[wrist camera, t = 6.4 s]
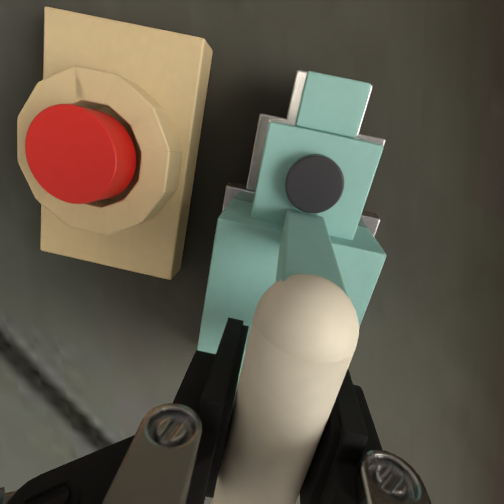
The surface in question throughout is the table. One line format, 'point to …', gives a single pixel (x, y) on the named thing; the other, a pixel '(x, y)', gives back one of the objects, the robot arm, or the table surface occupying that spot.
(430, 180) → the table surface
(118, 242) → the switch block
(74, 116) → the switch button
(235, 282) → the iron
